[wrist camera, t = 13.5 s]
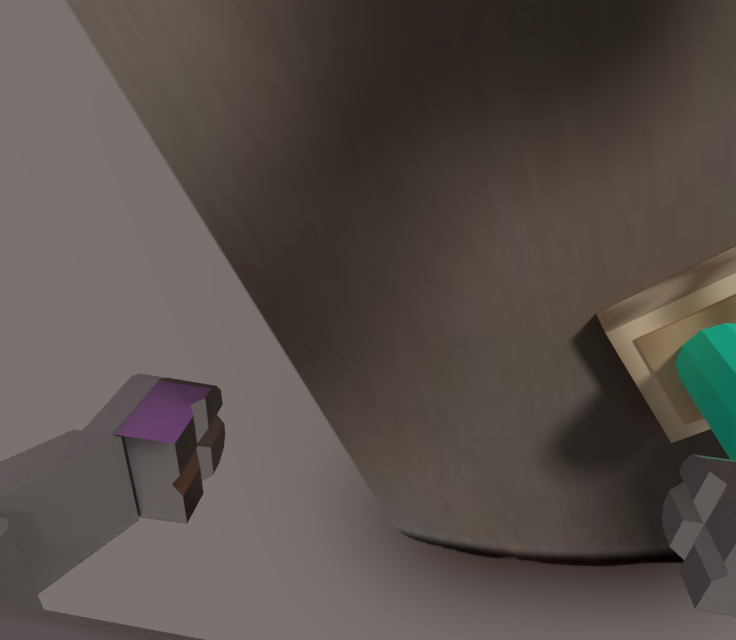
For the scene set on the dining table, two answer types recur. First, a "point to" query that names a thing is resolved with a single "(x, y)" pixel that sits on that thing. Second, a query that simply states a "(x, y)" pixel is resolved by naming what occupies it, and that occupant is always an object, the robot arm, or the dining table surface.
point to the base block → (671, 336)
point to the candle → (713, 380)
